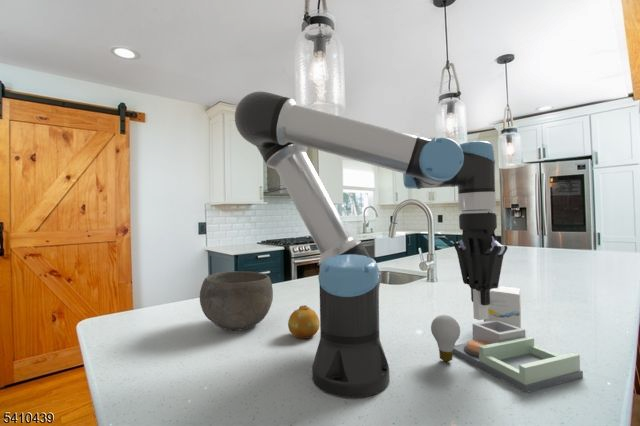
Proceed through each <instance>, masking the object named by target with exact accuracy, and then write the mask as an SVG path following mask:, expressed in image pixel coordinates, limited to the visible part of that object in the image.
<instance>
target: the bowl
mask: <svg viewBox="0 0 640 426" xmlns="http://www.w3.org/2000/svg"><path fill="white" fill-rule="evenodd" d="M273 298H274V290H273V284H272V280H271V278H270V276H269V275H268V274H267V273H262V272H255V271H245V270H244V271H240V270H239V271H237V270H236V271H235V270H234V271H233V270H232V271H231V270H230V271H223V272H215V273H212V274H209V275H207V276H206V277H205V278H204V280H203V281H202V285H201V286H200V291H199V305H200V308H201V311H202V312H203V314H204V316H205V317H206V318H207V319H208V321H211V322H212V323H213V324H215V325H216V326H218V327H220V328H222V329H224V330H227V331H243V330H247V329H250V328H253V327H254V326H256V325H258V324H259V323H261V321H263V320H264V319H265V318H266V317H267V315H268V313H269V311H270V309H271V306H272V303H273Z"/></svg>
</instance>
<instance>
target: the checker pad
mask: <svg viewBox="0 0 640 426" xmlns="http://www.w3.org/2000/svg"><path fill="white" fill-rule="evenodd" d="M466 343H467V349H468V350H469V351H471V352H473V353H476V354H479V346H483V345H488V344H491V343H489V342H486V341H481V340H473V339H471V340H470V339H469V340H468V341H467V342H466Z"/></svg>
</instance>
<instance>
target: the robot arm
mask: <svg viewBox="0 0 640 426" xmlns="http://www.w3.org/2000/svg"><path fill="white" fill-rule="evenodd" d="M234 123H235V127H236V129H237V131H238V133H239V135H240V136H241V137H242V138H243V139H244V140H245V141H246V142H248V143H250V144H251V145H253V146H255V147H256V148H257V150H258V152H259V153H260V155H261V158H262V159H263V161H264V163H265V165H266V167H268V168H271V169H274V170H275V171H276V173H277V174H278V177H279V179H281V182H282V184H283V186H284V187H285V189H286V191H287V193H288V195H289V197H290V199H291V200H292V202H293V205H294V207H295V208H296V210H297V212H298V213H299V216H300V218H301V220H302V221H303V223H304V225H305V227H306V229H307V230H308V233H309V235H310V236H311V239H312V240H313V242H314V244H315V246H316V248H317V250H318V252H319V254H320V258H319V261H318V265H319V273H318V277H317V279H318V285H319V329H320V332H319V333H320V338H319V342H318V345H317V348H316V353H315V355H314V358H313V361H312V365H311V371H312V372H311V374H312V375H311V377H312V378H311V379H312V382H313V384H314V385H315V387H317V388H318V389H319V390H320V391H323V392H325V393H327V394H330V395H333V396H336V397H342V398H364V397H371V396H373V395H376V394H378V393H379V394H380V392H382V391H384V390H385V389H386V388H387V387H388V385H389V384H390V365H389V363H388V360H387V357H386V354H385V352H384V348H383V346H382V342H381V338H380V337H381V336H380V302H379V301H380V285H381V275H380V273H381V272H380V269H379V266H378V263H377V262H376V260H375V259H374V258H372V257H370V255H369V253H368V251H367V249H366V248H365V246H364V244H363V242H362V241H361V240H360V239H356V238H354V237H352V235H351V233H350V232H349V230H348V227H347V226H346V224H345V223H344V221H343V218H342V217H341V215H340V213H339V211H338V210H337V208H336V206H335V204H334V202H333V201H332V199H331V196H330V195H329V193H328V191H327V189H326V187H325V186H324V183H323V182H322V180H321V178H320V177H319V174H318V172H317V171H316V169H315V167H314V165H313V164H312V162H311V160H310V158H309V156H308V154H307V151H308V148H309V149H314V150H316V151H320V152H325V153H328V154H331V155H335V156H338V157H339V156H340V157H342V158H346V159H350V160H354V161H357V162H361V163H364V164H368V165H371V166H375V167H378V168H379V167H380V168H383V169H386V170H390V171H394V172H397V173H401V174H402V178H403V179H402V181H403V185H404V188H406V189H417V190H421V189H433V188H434V189H435V188H451V187H452V188H454V187H457V193H458V195H457V197H458V200H457V201H458V202H457V203H458V211H459V212H461V213H460V214H459V215H458V220H459V221H458V222H459V226H458V227H459V229H460V231H462V232H461V233H462V234H461V237H460V238H461V239H460V240H459V241H455V242H453V246H454V249H455V251H456V254H457V259H458V263H459V269H460V273H461V278H462V282H463V284H465V285H468V286H469V288H470V298H471V302H472V304H473V306H472V307H473V308H472V309H473V319H474V320H476V321H477V320H478V321H484V319H489V317H488V305H489V304H490V290H491V289H494V288H498V286H499V285H500V284H499V283H500V278H501V272H502V268H503V267H502V266H503V261H504V256H505V254H506V253H507V251H508V245H506V244H501V243H500V242H499V241H497V235H496V234H495V233H496V231H495V230H496V229H498V221H497V219H498V218H497V214H496V213H495V212H494V211H496V209H497V205H496V203H497V201H496V174H495V173H496V170H495V165H496V160H495V153H494V152H495V151H494V146H493V144H492V143H491V142H489V141H486V140H485V141H484V140H474V141H469V142H464V143H461V144H459V143H458V142H457V141H455V140H453V139H452V138H448V137H437V138H434V139H429V138H426V137H422V136H417V135H414V134H409V133H406V132H402V131H397V130H395V129H389V128H387V127H383V126H378V125H374V124H371V123H366V122H363V121H360V120H355V119H351V118H347V117H344V116H339V115H335V114H332V113H328V112H324V111H320V110H316V109H312V108H309V107H306V106H301V105H297V103H296V100H295V99H294V98H291V97H287V96H282V95H279V94H275V93H272V92H267V91H262V90H261V91H253V92H251V93H248V94H247V95H244V96H243V98H241V100H240V101H239V102H238V104H237V105H236V107H235V111H234Z"/></svg>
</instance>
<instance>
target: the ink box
mask: <svg viewBox="0 0 640 426" xmlns="http://www.w3.org/2000/svg"><path fill="white" fill-rule="evenodd" d="M521 307H522V306H521V288H520V287H511V286H503V285H502V286H501V285H498V288H494V289H491V290H490V304H489V305H488V317H489V319H484V320H483V322H487V321H493V320H498V321H501V322H504V323H507V324H510V325H513V326H516V327H519V328H522V326H521V325H522V317H521V315H522V313H521V309H522V308H521Z"/></svg>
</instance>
